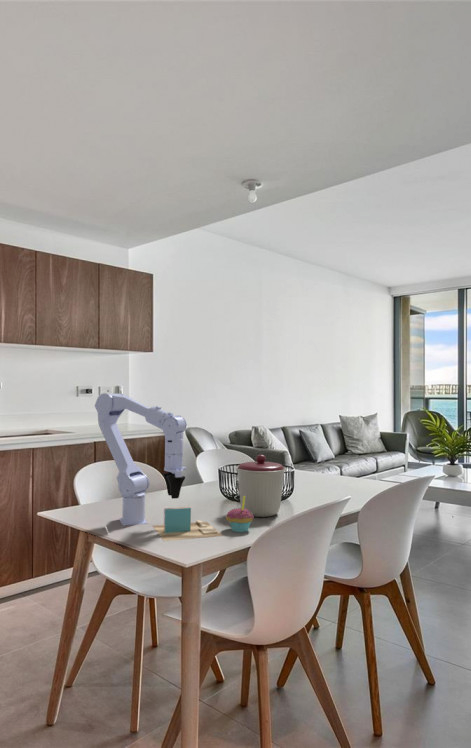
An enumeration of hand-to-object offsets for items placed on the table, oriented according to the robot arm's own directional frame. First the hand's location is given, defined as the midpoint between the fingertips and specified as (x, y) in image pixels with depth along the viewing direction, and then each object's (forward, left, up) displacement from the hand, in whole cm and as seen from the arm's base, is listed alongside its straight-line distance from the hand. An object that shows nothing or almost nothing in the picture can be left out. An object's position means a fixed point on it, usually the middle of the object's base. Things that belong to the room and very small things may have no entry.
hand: (173, 496), depth 169 cm
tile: (+6, 0, -9) cm, 11 cm away
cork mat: (+6, +3, -10) cm, 12 cm away
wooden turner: (+5, +9, -9) cm, 14 cm away
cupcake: (+10, +19, -10) cm, 24 cm away
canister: (-10, +34, -10) cm, 37 cm away
